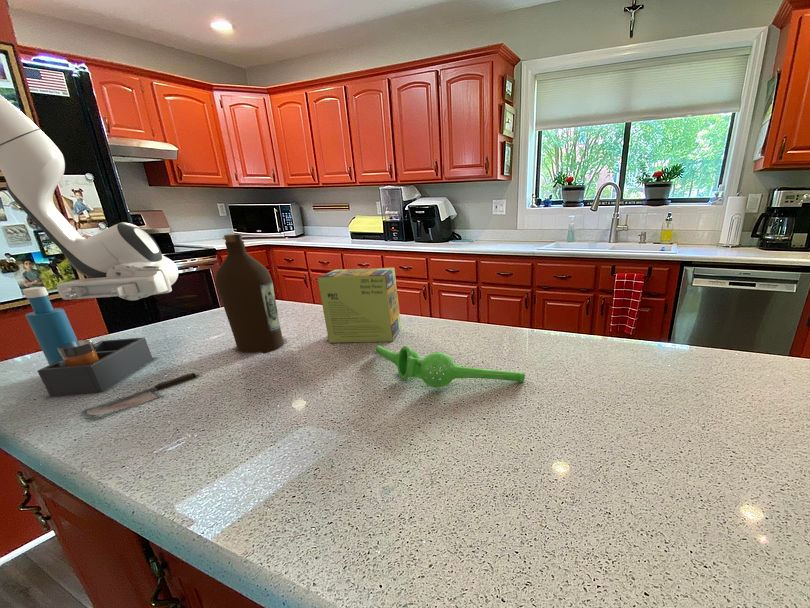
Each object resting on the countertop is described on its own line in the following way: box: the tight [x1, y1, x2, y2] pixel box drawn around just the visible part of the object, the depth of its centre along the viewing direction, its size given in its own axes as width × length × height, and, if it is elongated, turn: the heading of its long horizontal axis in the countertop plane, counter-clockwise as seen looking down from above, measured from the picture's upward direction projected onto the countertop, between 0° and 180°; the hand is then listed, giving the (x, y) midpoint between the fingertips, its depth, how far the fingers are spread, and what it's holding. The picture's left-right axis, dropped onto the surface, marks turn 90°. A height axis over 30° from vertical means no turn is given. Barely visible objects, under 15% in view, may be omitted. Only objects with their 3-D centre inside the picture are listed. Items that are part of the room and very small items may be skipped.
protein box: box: [317, 267, 402, 344], centre depth 94 cm, size 10×15×16 cm
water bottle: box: [21, 286, 79, 365], centre depth 77 cm, size 5×5×18 cm
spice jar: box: [57, 339, 99, 367], centre depth 72 cm, size 5×5×8 cm
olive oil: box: [215, 233, 284, 354], centre depth 87 cm, size 11×11×25 cm
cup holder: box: [37, 337, 154, 398], centre depth 76 cm, size 8×16×6 cm, turn 10°
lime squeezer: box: [375, 345, 526, 389], centre depth 72 cm, size 34×12×6 cm, turn 63°
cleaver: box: [86, 372, 197, 416], centre depth 69 cm, size 16×1×5 cm
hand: (90, 294), depth 86 cm, fingers open, 8 cm apart
